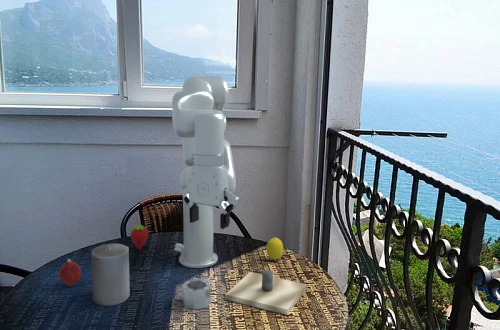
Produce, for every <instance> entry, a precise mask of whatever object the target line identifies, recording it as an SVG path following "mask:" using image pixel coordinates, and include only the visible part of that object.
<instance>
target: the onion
mask: <svg viewBox="0 0 500 330" xmlns="http://www.w3.org/2000/svg"><path fill="white" fill-rule="evenodd" d="M81 276H82V271H81V267H80V266H79V264H78V263H76V262H74V261H73V260H71V259H70V258H68V259H67V260H66V262H65V263H64V264H63V265H62V266H61V268H60V269H59V271H58V277H59V280H61V282H62V283H63V284H65V285H67V286H70V287H71V285H72V286H73V285H75V284H76V283H78V282H79V280H80V278H81Z"/></svg>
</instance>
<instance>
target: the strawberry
mask: <svg viewBox="0 0 500 330" xmlns="http://www.w3.org/2000/svg"><path fill="white" fill-rule="evenodd" d="M148 237H149V232H148V227H147V226H144V224H143V225H140V224H138V225H136V226H133V227H132V230H131V231H130V238H131V242H132V243H133V244H134V246H135V247H136V248H137V249H138V250H141V249H142V248H143V247H144V245H145V244H146V242H147V240H148Z"/></svg>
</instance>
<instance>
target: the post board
mask: <svg viewBox="0 0 500 330" xmlns="http://www.w3.org/2000/svg"><path fill="white" fill-rule="evenodd" d="M261 273H262V274H261ZM261 273H256V272H251V271H249V272H247V274H246V275H245V276H244V277H243V278H242V279H241V280H240V281H238V282H237V283H236V284H234V286H233V287H231V289H229V291H227V292H225V297H224V298H225V301H227V300H228V301H230V302H234V303H239V304H243V305H246V306H250V307H254V308H259V309H262V310H266V311H270V312H274V313H276V314H277V313H278V314H283V315H286V316H287V315H289V314H290V312H291V310H292V309H293V308H294V307H295V305H296V304H297V302H299V300H300V299H301V297H302V296H303V295H304V293H305V292H306V290H307V289H308V285H307V284H306V283H301V282H299V281H294V280H293V281H292V280H288V279H283V278H279V277H275V276H274V272H273V271H272V270H268V269H266V270H262V272H261Z"/></svg>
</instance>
